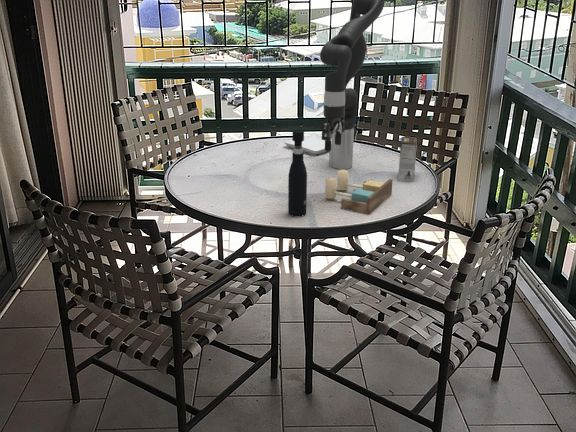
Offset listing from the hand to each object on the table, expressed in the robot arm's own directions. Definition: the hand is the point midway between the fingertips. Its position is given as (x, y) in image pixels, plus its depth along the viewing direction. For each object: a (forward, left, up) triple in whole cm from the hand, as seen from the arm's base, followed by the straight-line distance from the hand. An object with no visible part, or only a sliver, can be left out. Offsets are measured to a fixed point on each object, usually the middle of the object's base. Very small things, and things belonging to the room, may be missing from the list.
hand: (332, 147), depth 225 cm
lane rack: (+12, +5, -20) cm, 24 cm away
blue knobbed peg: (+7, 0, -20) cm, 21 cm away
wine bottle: (-5, -18, -20) cm, 27 cm away
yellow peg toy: (+7, +10, -20) cm, 23 cm away
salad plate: (-35, +55, -21) cm, 68 cm away
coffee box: (+16, +37, -20) cm, 45 cm away
